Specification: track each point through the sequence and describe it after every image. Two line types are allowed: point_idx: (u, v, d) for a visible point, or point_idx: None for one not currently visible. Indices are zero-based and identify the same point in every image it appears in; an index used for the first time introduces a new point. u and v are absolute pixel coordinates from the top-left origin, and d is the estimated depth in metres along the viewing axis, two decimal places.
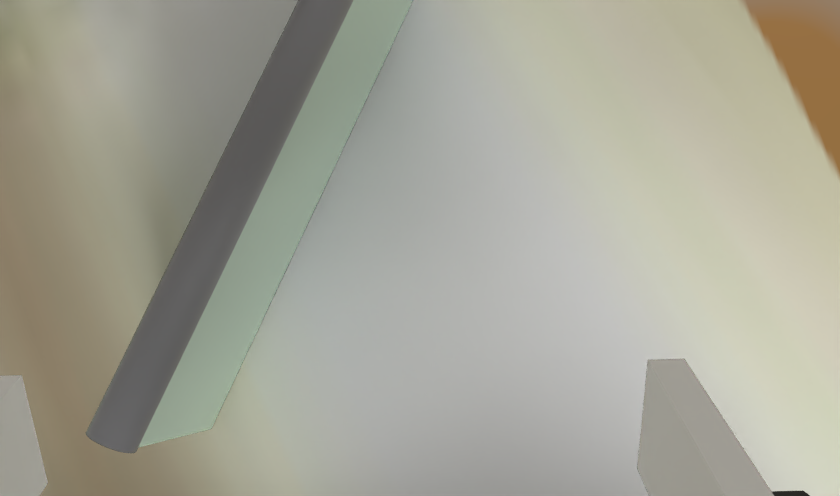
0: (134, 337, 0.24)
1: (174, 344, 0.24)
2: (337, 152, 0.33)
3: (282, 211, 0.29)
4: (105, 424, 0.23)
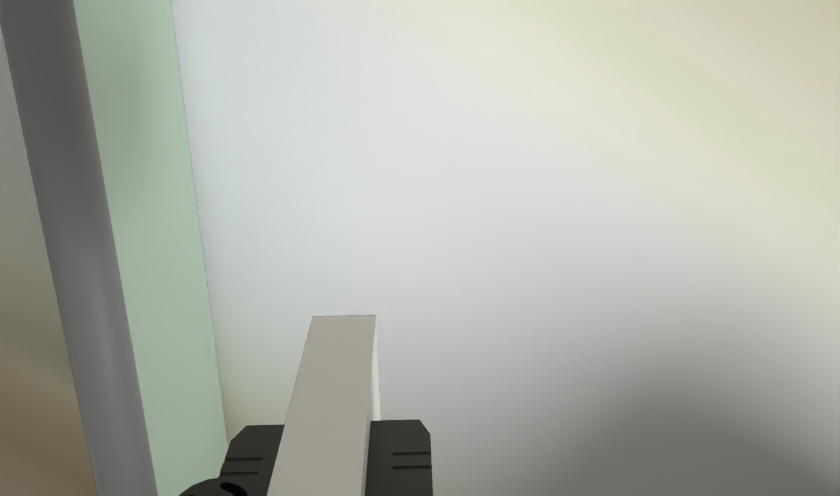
0: None
1: None
2: (185, 156, 0.27)
3: (167, 294, 0.25)
4: None
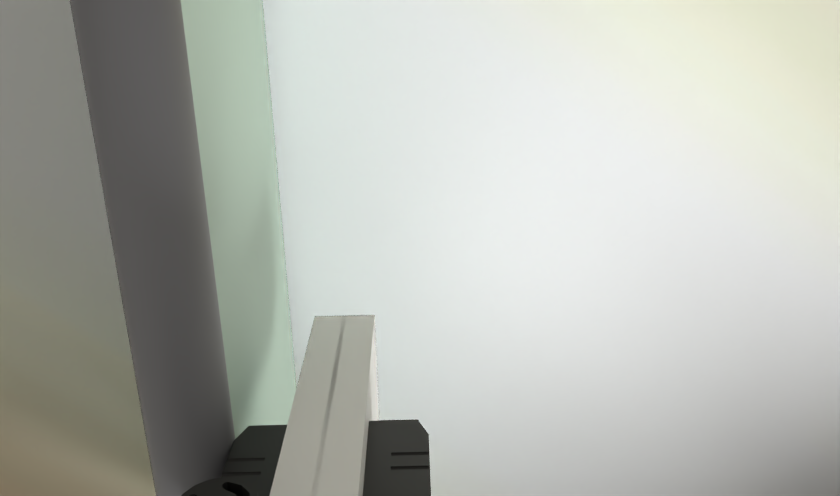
0: None
1: None
2: (276, 201, 0.21)
3: (265, 387, 0.19)
4: None
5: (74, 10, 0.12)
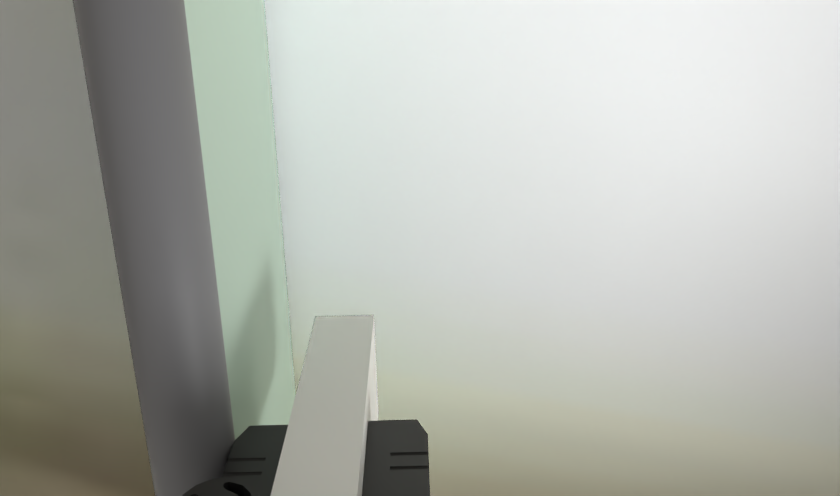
0: None
1: None
2: (276, 202, 0.21)
3: (264, 388, 0.19)
4: None
5: (77, 11, 0.11)
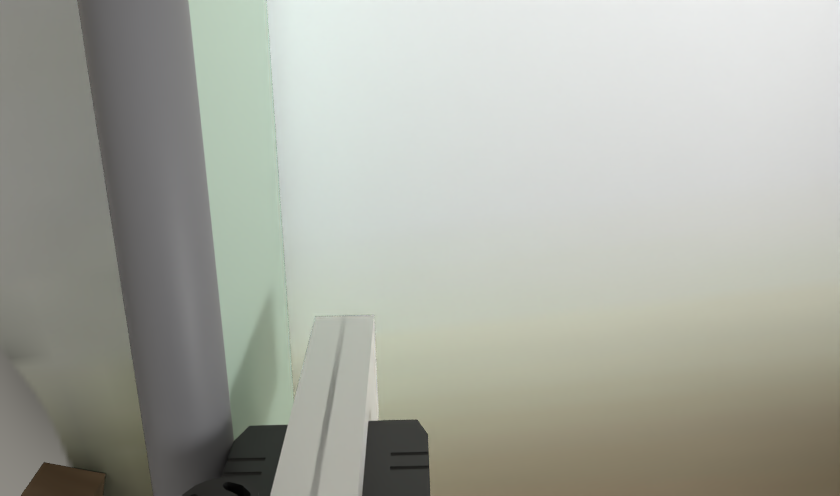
0: None
1: None
2: (276, 201, 0.21)
3: (263, 388, 0.19)
4: None
5: (81, 9, 0.11)
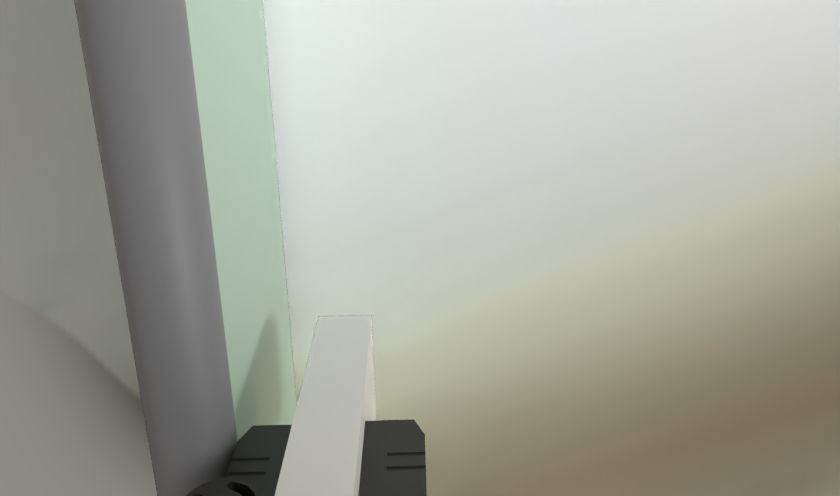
0: None
1: None
2: (275, 203, 0.21)
3: (265, 389, 0.19)
4: None
5: (78, 10, 0.11)
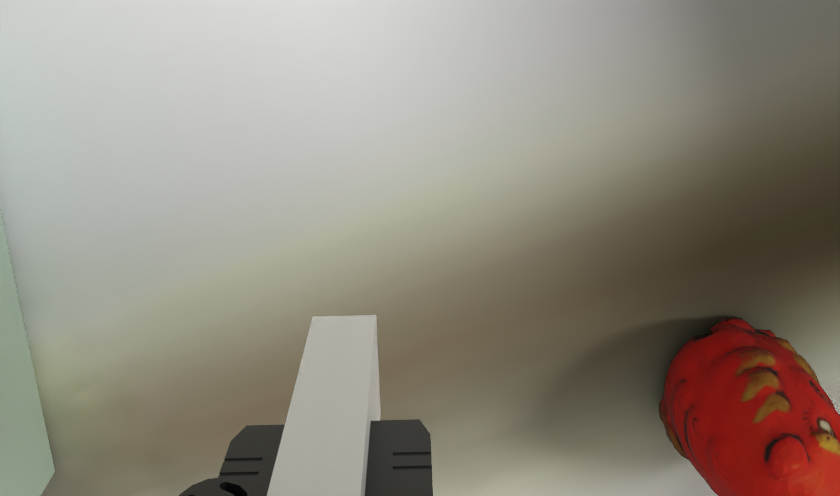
0: None
1: None
2: None
3: None
4: None
5: None
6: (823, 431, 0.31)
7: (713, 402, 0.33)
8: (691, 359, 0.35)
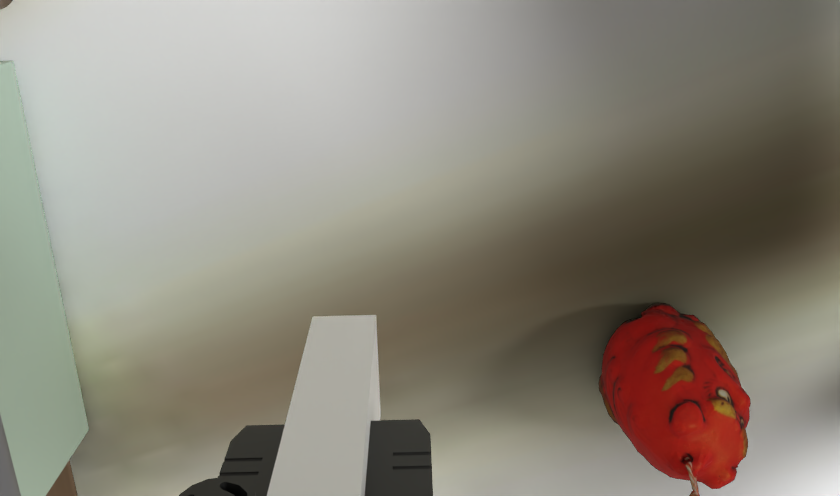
0: None
1: (2, 477, 0.35)
2: (41, 228, 0.40)
3: (22, 324, 0.38)
4: None
5: None
6: (720, 398, 0.37)
7: (633, 374, 0.39)
8: (620, 339, 0.41)
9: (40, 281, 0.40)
